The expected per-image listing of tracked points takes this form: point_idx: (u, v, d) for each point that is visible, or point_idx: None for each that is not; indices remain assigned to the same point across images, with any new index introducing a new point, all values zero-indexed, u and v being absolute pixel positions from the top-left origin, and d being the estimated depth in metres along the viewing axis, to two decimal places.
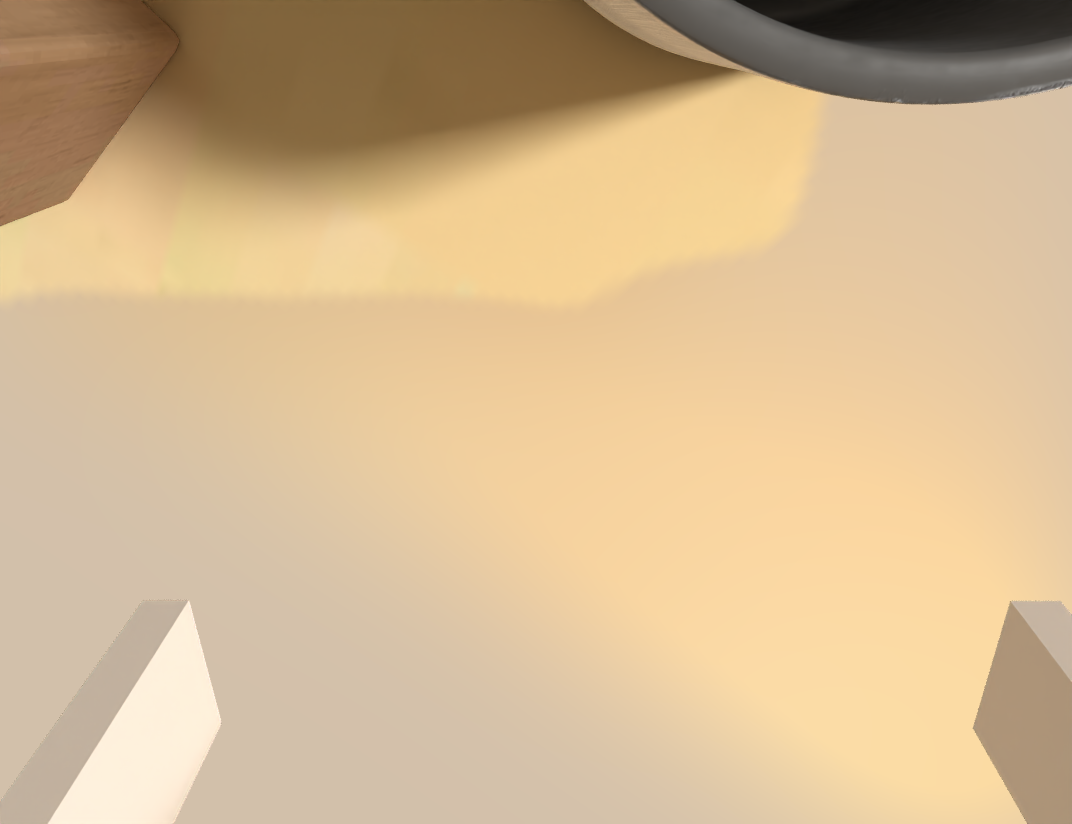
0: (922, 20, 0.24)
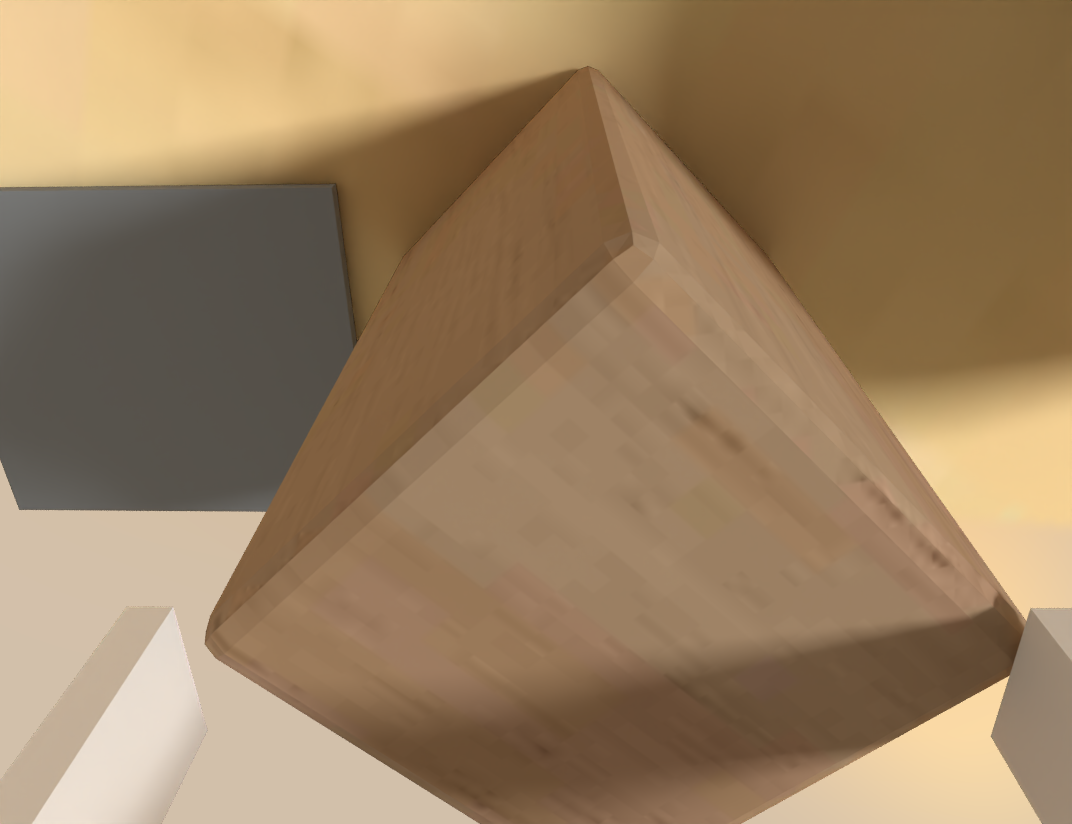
0: None
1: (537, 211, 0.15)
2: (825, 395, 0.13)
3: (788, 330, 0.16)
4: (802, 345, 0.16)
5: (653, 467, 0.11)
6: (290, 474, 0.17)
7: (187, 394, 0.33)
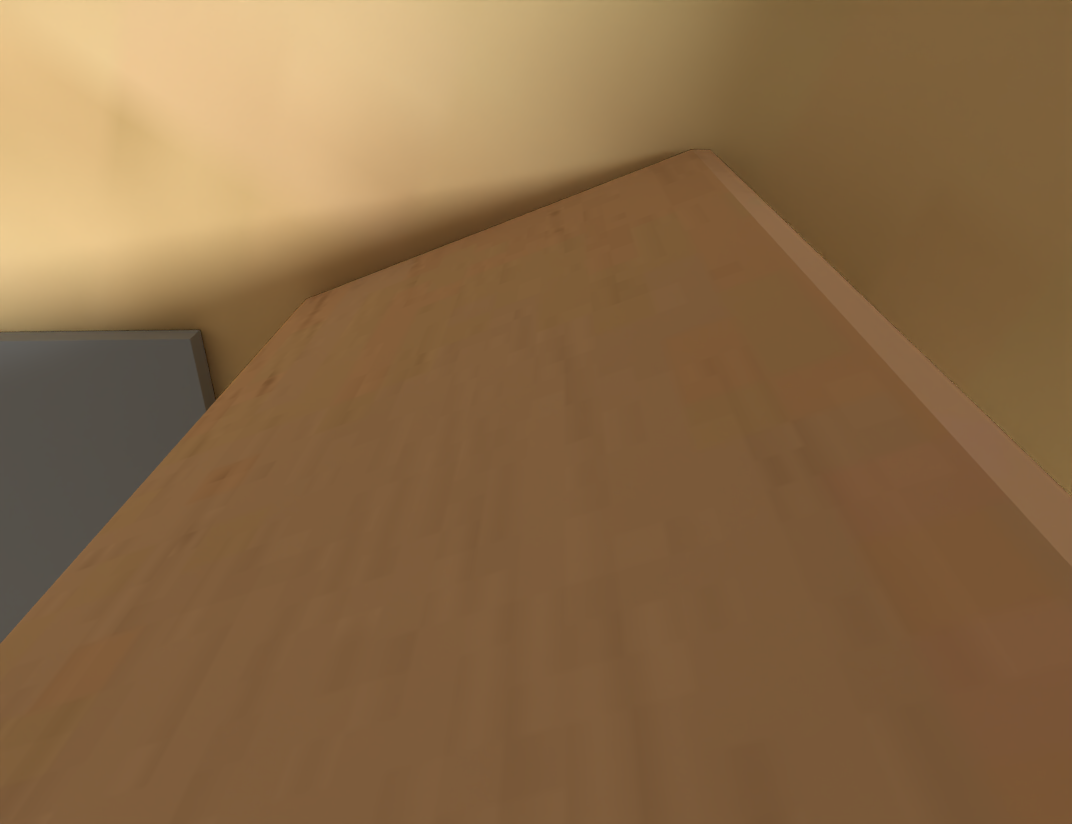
0: None
1: (800, 623, 0.05)
2: None
3: None
4: None
5: None
6: None
7: (2, 618, 0.23)
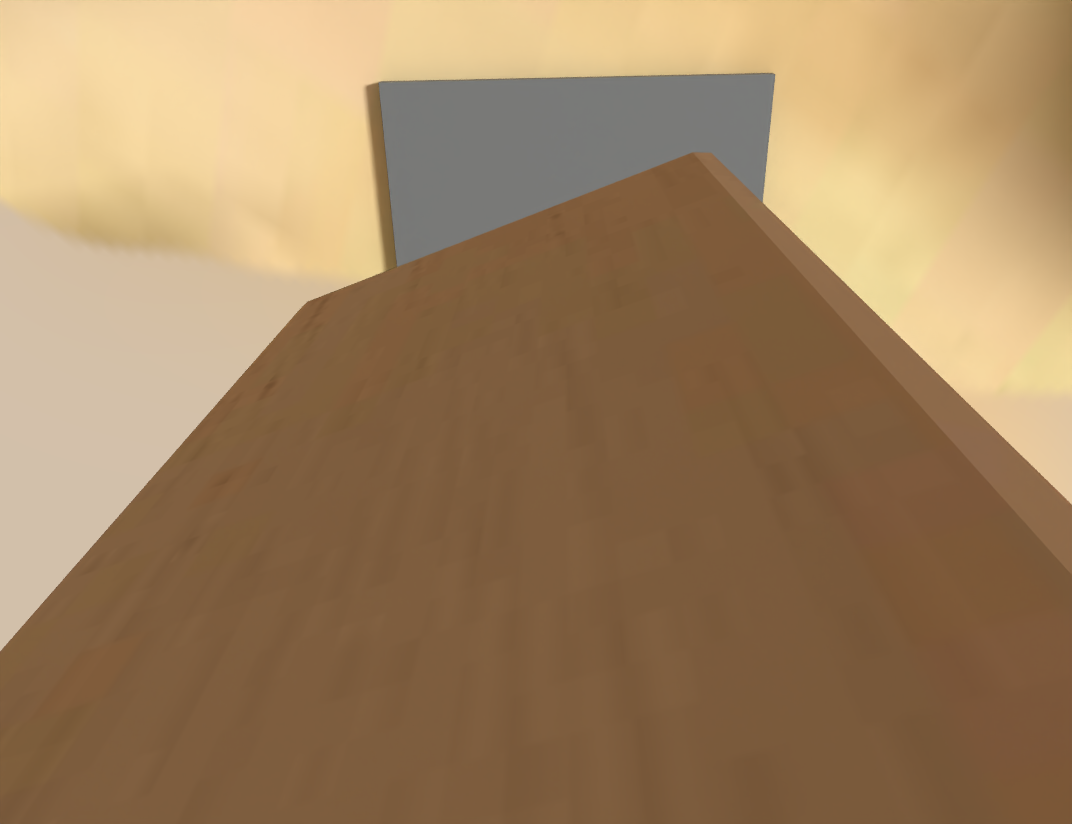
0: None
1: (803, 632, 0.05)
2: None
3: None
4: None
5: None
6: None
7: None
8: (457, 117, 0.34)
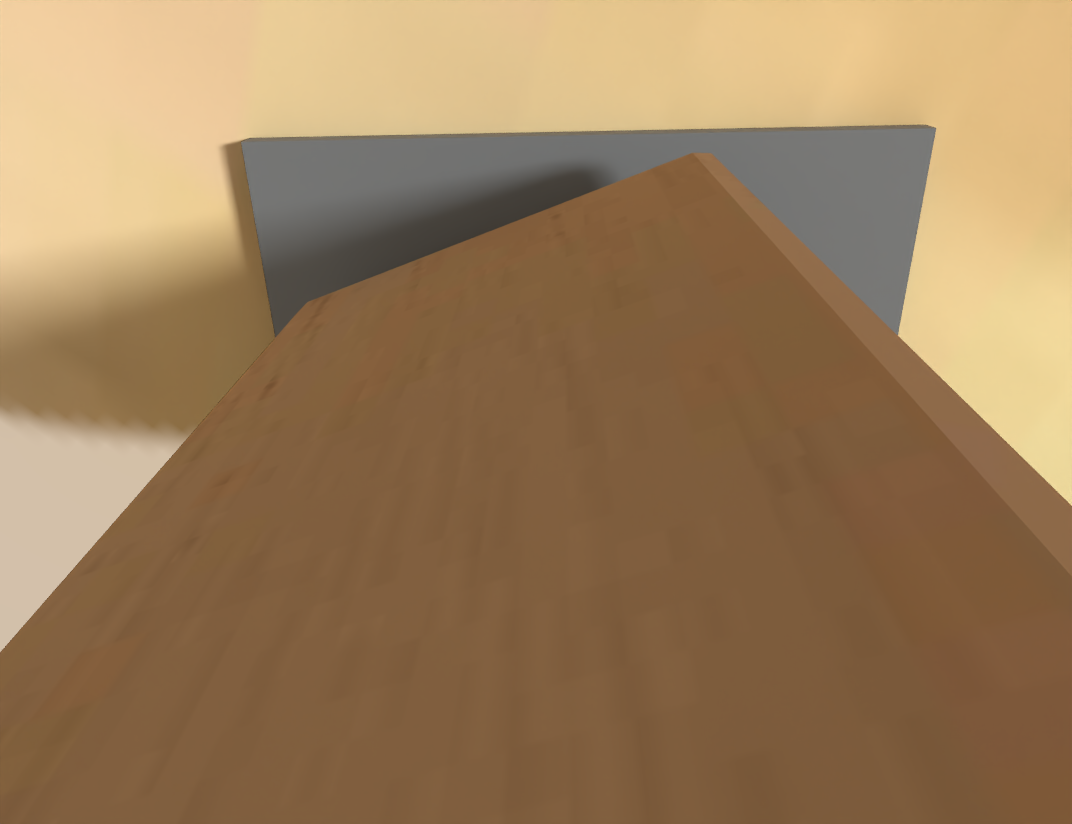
0: None
1: (802, 632, 0.05)
2: None
3: None
4: None
5: None
6: None
7: None
8: (379, 200, 0.20)
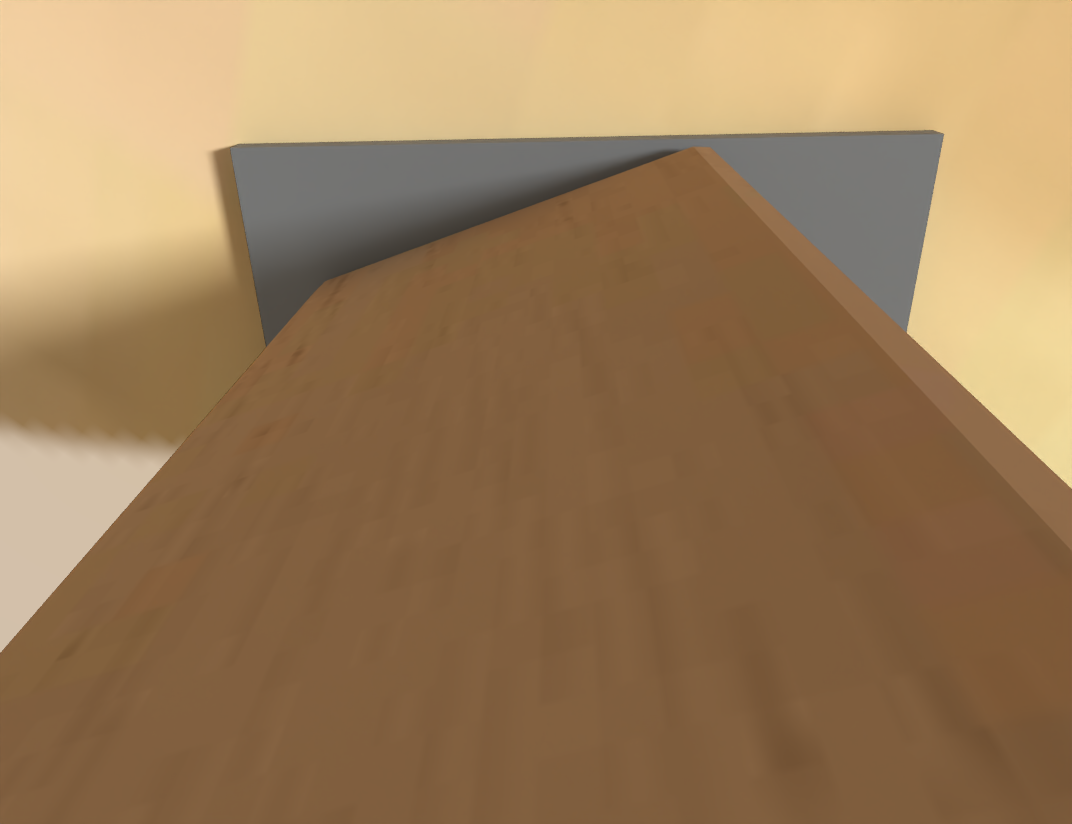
0: None
1: (784, 522, 0.06)
2: None
3: None
4: None
5: None
6: None
7: None
8: (373, 208, 0.19)
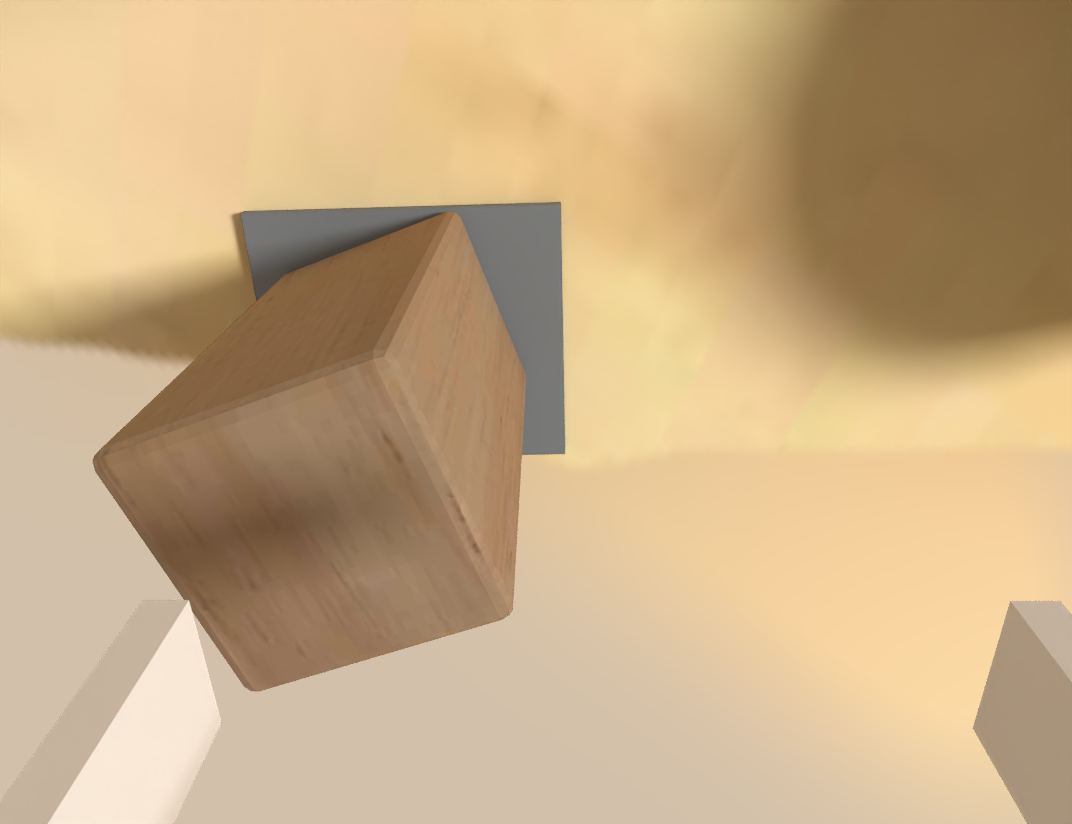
0: None
1: (365, 308, 0.28)
2: (460, 456, 0.26)
3: (471, 421, 0.29)
4: (477, 432, 0.29)
5: (359, 455, 0.24)
6: (166, 391, 0.28)
7: None
8: (307, 240, 0.41)
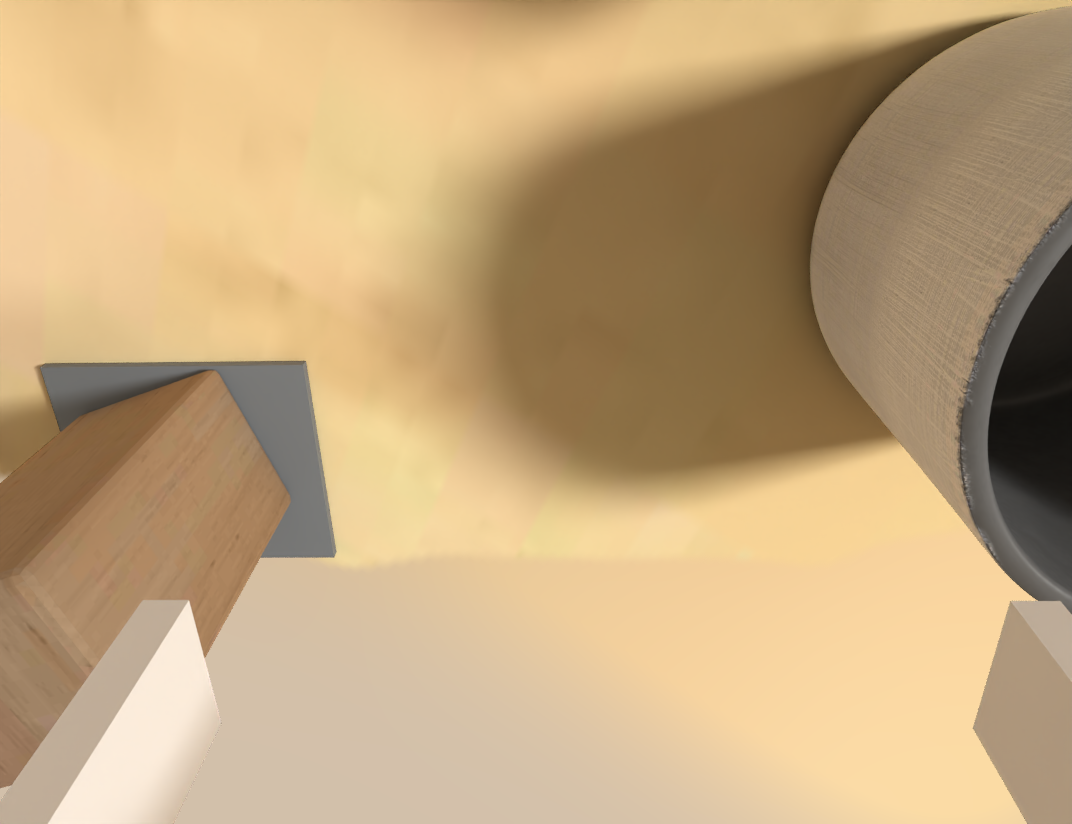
0: None
1: (58, 504, 0.36)
2: (114, 627, 0.35)
3: (150, 586, 0.37)
4: (156, 593, 0.38)
5: (14, 638, 0.32)
6: None
7: None
8: (97, 388, 0.50)
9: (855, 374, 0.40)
